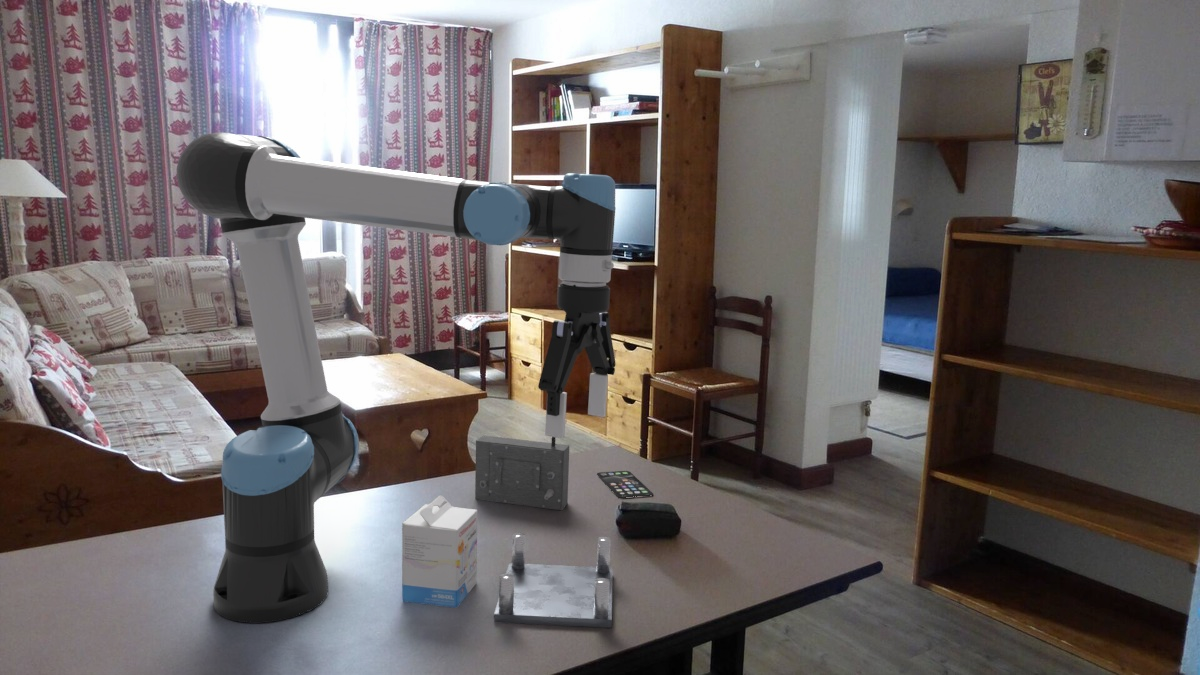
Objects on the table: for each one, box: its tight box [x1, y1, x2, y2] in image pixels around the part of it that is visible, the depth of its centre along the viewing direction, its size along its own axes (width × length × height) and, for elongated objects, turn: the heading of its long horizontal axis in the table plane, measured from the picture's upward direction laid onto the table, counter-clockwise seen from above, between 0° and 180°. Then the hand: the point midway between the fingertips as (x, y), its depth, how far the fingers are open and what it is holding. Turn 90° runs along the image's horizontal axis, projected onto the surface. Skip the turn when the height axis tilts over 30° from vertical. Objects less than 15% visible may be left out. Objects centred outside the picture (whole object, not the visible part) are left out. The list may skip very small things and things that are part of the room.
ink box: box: [401, 495, 478, 609], centre depth 124 cm, size 9×8×13 cm
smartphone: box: [596, 470, 654, 499], centre depth 173 cm, size 7×1×15 cm
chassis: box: [493, 532, 614, 629], centre depth 125 cm, size 16×16×6 cm
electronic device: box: [474, 435, 570, 511], centre depth 159 cm, size 17×7×20 cm, turn 76°
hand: (576, 425), depth 128 cm, fingers open, 13 cm apart
